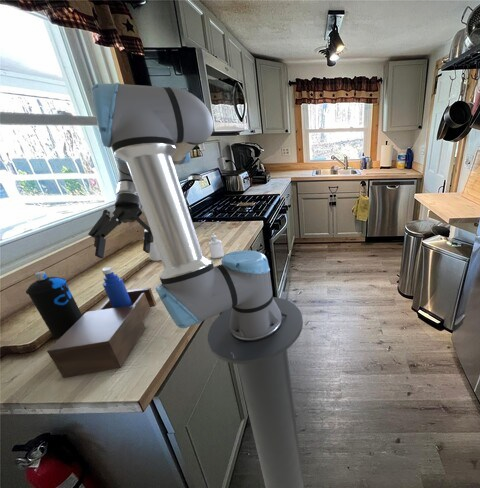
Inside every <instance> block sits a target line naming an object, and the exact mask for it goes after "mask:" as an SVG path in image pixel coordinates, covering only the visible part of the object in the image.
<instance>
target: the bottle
mask: <svg viewBox="0 0 480 488" xmlns="http://www.w3.org/2000/svg"><path fill="white" fill-rule="evenodd" d="M101 272H102V274H103V275H104V277H103V282H102V286H103V289H104V292H105V293H106V295H107V298H108V299H109V300H110V302H111V305H112V307H113V308H117V307H124V306H131V305H132V302H131V300H130V297H129V295H128V292H127V288H126V284H125V282H124V280H123V278H122V277H120V276H119V275H118V274H117V273H114V268H113V266H107V267H103V268H102V269H101Z"/></svg>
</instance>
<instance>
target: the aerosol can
mask: <svg viewBox="0 0 480 488" xmlns="http://www.w3.org/2000/svg"><path fill="white" fill-rule="evenodd" d="M34 276H35V278H36V280H35V281H34V282H32V283H31V284H29V286H28V288H27V289H26V291H25V294H27V295H28V296H29V298H30V300H31V302H32V303H33V305H34V306H35V309H36V310H37V311H38V313H39V315H40V317H41V319H42V320H43V322H44V323H45V325H46V327H47V328H48V330H49V332H50V335H51V336H50V337H51V338H53V339H60V338H61V337H62V336H63V335H64V334H65V333H66V332H67V331H68V330H69V329H70V328H71V327H72V326H73V325H74V324H75V323H76V322H77V321H78V320H79V319H80V318H81V317H82V316H83V314H82V312H81V309H80V308H79V306H78V304H77V302H76V300H75V298H74V296H73V294H72V292H71V290H70V288H69V286H68V284H67V279H66V278H63V277H60V276H48V275H47V274H46V272H45V271H44V270H42V271H41V270H40V271H37V272H35V273H34Z"/></svg>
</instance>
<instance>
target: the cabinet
mask: <svg viewBox="0 0 480 488" xmlns="http://www.w3.org/2000/svg"><path fill="white" fill-rule="evenodd" d="M145 330H146V326H145V323H144V321H142V318H141V316H140V313H139V311H138V308H137V306H136V305H131V306H124V307H117V308H110V309H103V310H98V309H97V310H89V311H85V313H83V314H82V317H81V318H80V319H79V320H78V321H77V322H76V323H75V324H74V325H73V326H72V327H71V328H70V329H69V330H68V331H67V332H66V333H65V334H64V335H63V336H62V337H61V338H58V339H57V340H56V341H55V342H54V343H53V344H52V345H51V346H50V347H49V348H48V349H47V350H46V352H47V354H48V355H49V357H50V359H51V361H52V362H53V364H54V365H55V367H56V368H57V370H58V372H59V373H60V375H61V377H62V379H63V378H64V379H65V378H71V377H76V376H82V375H88V374H93V373H98V372H105V371H111V370H115V369H121V368H123V365H124V364H125V362H126V361H127V360H128V357H129V356H130V354H131V353H132V352H133V350H134V347H135V346H136V345H137V343H138V341H139V340H140V338H141V337H142V335H143V333H144V331H145Z"/></svg>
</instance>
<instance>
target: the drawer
mask: <svg viewBox="0 0 480 488" xmlns="http://www.w3.org/2000/svg"><path fill="white" fill-rule="evenodd" d="M126 290H127V289H126ZM127 292H128V295H129V297H130V300H131V302H132V305H136V306H137V308H138V311H139V313H140V316H141V318H142V321H143V320H144V319H145V318H146V316H147V315H148V313H149V312H150V311H151V308H153V307H156V306H157V302H156V299H155V296H154V294H153V291H152V288H151V287H144V288H135V289H128V290H127ZM110 308H113V307H112V305H111V302H110V300H109V298H108V299H107V300H106V301H105V302H104V303H103V304H102V305H101V306H100V307H99V308H98V309H97V310H103V309H110ZM143 322H144V321H143Z"/></svg>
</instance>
